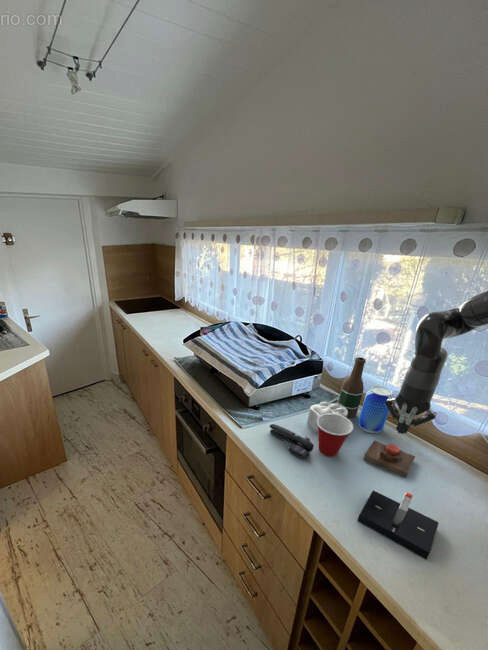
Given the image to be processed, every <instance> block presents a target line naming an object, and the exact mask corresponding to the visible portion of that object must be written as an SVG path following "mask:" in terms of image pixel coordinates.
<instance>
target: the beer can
mask: <svg viewBox="0 0 488 650" xmlns="http://www.w3.org/2000/svg"><path fill="white" fill-rule="evenodd" d="M388 398H391V399H393V398H394V396H393V391H392V390H391V389H389V388H387V387H385V386H379V385H375V386H372V387H371V388H370V389H369V390H368V391H367V392H366V394H365V397H364V400H363V403H362V406H361V410H360V412H359V416H358V419H357V424H358V427H359V428H360V429H361V430H362V431H364V432H366V433H370V434H378V433H380V432H382V431H383V430H384V428H385V425H386V422H387V419H388V417H389V413H390V411H389V409H388V407H387V405H386V403H385V402H386V401H387V400H388Z"/></svg>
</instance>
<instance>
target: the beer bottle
mask: <svg viewBox="0 0 488 650" xmlns="http://www.w3.org/2000/svg"><path fill="white" fill-rule="evenodd" d="M366 362H367V361H366V358H364V357H359V356H358V357H355V359H354V364H353V367H352V369H351V373H350V374H349V376H348V377H347V378H346V379H345V380H344V381H343V382H342V385H341V389H340V393H339V396H338V400H337V404H338V405H340V406H342V407H344V408H346V409H347V411H348V415H347V419H352V418H355V417H357V414H358V410H359V407H360V405H361V401H362V397H363V394H364V390H365V389H364V381H363V379H362V378H363V372H364V368H365V364H366Z"/></svg>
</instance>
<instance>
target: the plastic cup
mask: <svg viewBox="0 0 488 650" xmlns="http://www.w3.org/2000/svg"><path fill="white" fill-rule="evenodd" d="M317 425H318V429H319V432H318V434H317V435H318V440H317V441H318V451H319V453H320V454H321V455H323V456H325V457H329V458H334V457H336V456H337V455H338V453H339V452H340V449H341V448H342V446H343V445H344V443H345V441H346V440H347V438H348V436H349V435H350V433H352V432H353V430H354V424H353V422H352V421H351V420H350V418H345V417H344V416H341V415H338V414H331V413H328V414H322V415H320V416H319V417H318V418H317Z"/></svg>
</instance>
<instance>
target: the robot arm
mask: <svg viewBox="0 0 488 650" xmlns="http://www.w3.org/2000/svg"><path fill="white" fill-rule="evenodd" d="M487 325H488V290H486V291H484V292H482V293H479V294H477V295H474V296H472V297H470V298H468V299H466V300H465V301H463V302H462V304H461V305H460V306H457V307H454V308H451V309H447V310H441V311H432V312H429V313H427V314H425V315H424V316H422V317H421V318H420V320H419V322H417V325H416V329H415V341H414V347H415V348H414V354H413V356H412V359H411V362H410V365H409V367H408V369H407V371H406V373H405V375H404V378H403V381H402V384H401V387H400V390H399V393H398V394H397V395H396V396H395V397H393V399H391V398H388V400H387V401H386V402H385V403H386V405H387V407H388V409H389V413H390V415H391V417H392V418H393V419H394V420H397V421H398V422H397V424H396V428H395V430H396V431H397V434H400V435H404V434H407V433H408V431H409V429H410V426H415V427H417V426H421V425H422V424H425V423H427V422H430V421H433V420H435V419H436V417H437V415H438V413H437V412H436V411H434V410H432V409H431V406H432V405H431V401H432V399H433V396H434V393H435V391H436V388H437V387H438V385H439V381H440V378H441V374H442V371H443V369H444V367H445V364H446V362H447V359H448V356H449V355H448V350H447V349H445V348H444V347H442V343H443V341H444V340H445V339H451V338H452V339H453V338H457V337H459V336H461V335H464V334H468V333H470V332H472V331H474V330H476V329H478V328H480V327H483V326H487ZM397 407H398V408H397ZM398 409H399V410H398ZM399 411H400V412H399ZM421 414H424V415H422V416H419V415H421ZM407 415H408V416H407ZM416 416H419V417H417V418H415V417H416Z"/></svg>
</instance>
